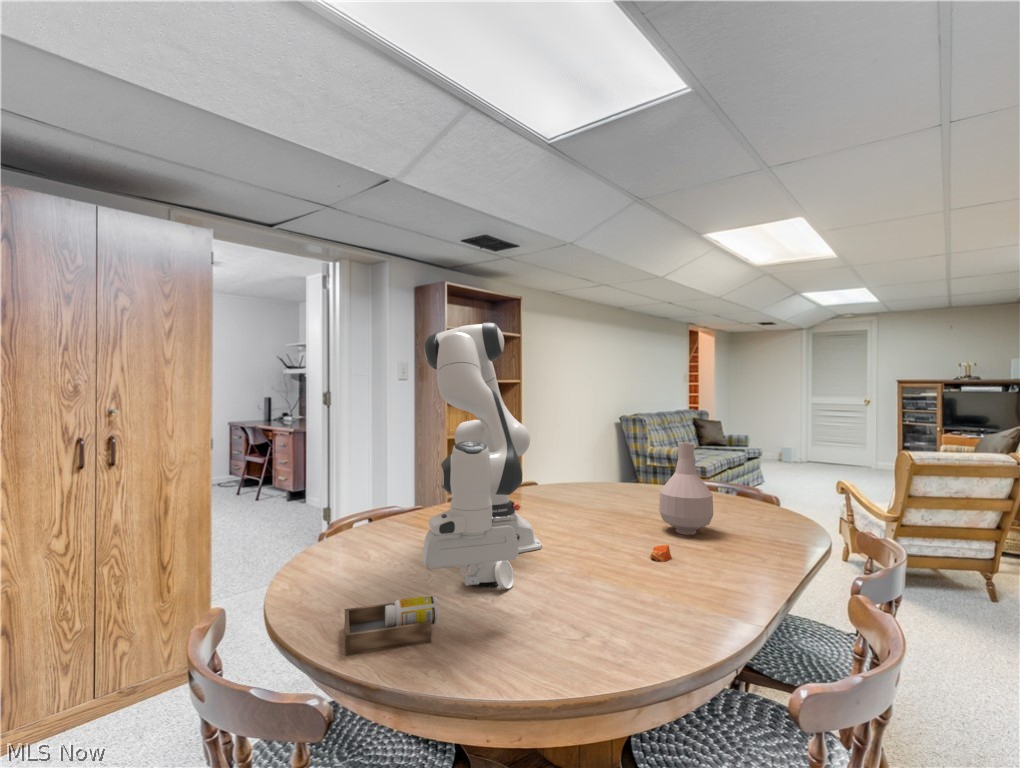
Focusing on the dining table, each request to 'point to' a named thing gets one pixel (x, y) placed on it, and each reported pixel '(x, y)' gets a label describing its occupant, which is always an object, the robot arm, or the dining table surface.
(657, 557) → the rock
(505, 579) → the spread jar
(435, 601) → the supplement bottle
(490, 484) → the robot arm
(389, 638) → the tray
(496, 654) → the dining table surface
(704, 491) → the vase
